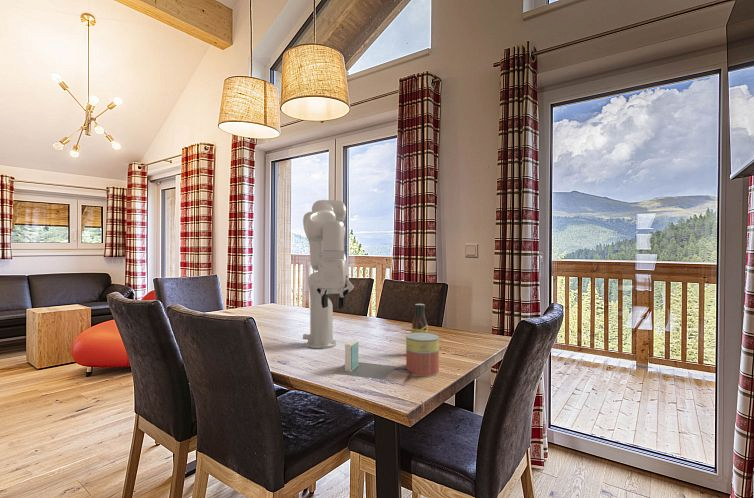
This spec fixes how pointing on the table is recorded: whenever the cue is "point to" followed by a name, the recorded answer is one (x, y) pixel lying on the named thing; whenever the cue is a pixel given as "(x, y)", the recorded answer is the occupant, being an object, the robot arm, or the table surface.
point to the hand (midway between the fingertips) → (333, 307)
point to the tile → (351, 355)
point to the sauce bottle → (419, 320)
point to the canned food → (422, 354)
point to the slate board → (367, 370)
